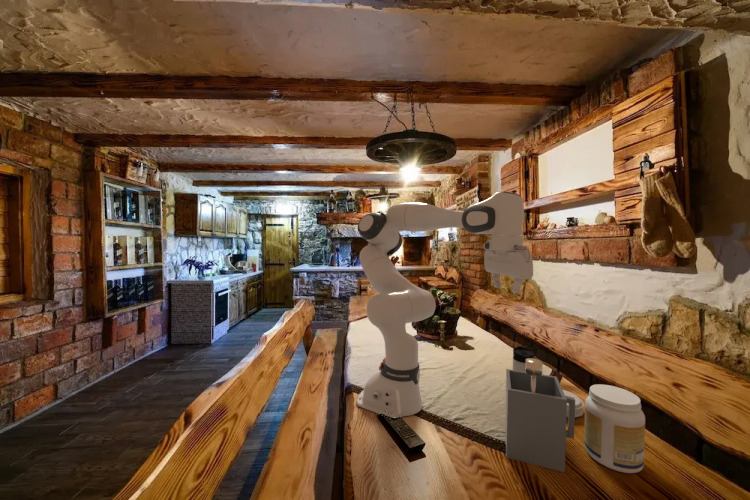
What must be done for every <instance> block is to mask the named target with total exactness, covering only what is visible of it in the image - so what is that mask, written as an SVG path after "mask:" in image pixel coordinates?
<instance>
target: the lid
mask: <svg viewBox="0 0 750 500" xmlns="http://www.w3.org/2000/svg"><path fill="white" fill-rule="evenodd" d="M562 390H563V392H564V395H565V396H567V397H573V398H575V418H578V417H582V416H583V415H584V413H585V410H584V408H585V402H584V401H583V400H582V399H581V398H579V396H578V395H576V394H575V393H573V392H570V391H567V390H565V389H562ZM568 404H569V403H567V413H566V418H568Z"/></svg>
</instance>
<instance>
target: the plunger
mask: <svg viewBox="0 0 750 500" xmlns="http://www.w3.org/2000/svg"><path fill="white" fill-rule="evenodd" d="M525 371H526V373H528V374H531V392H533V393H536V376H540V375H543V361H542V360H540V359H537V358H534V359H533V358H528V359H526V364H525Z"/></svg>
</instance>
